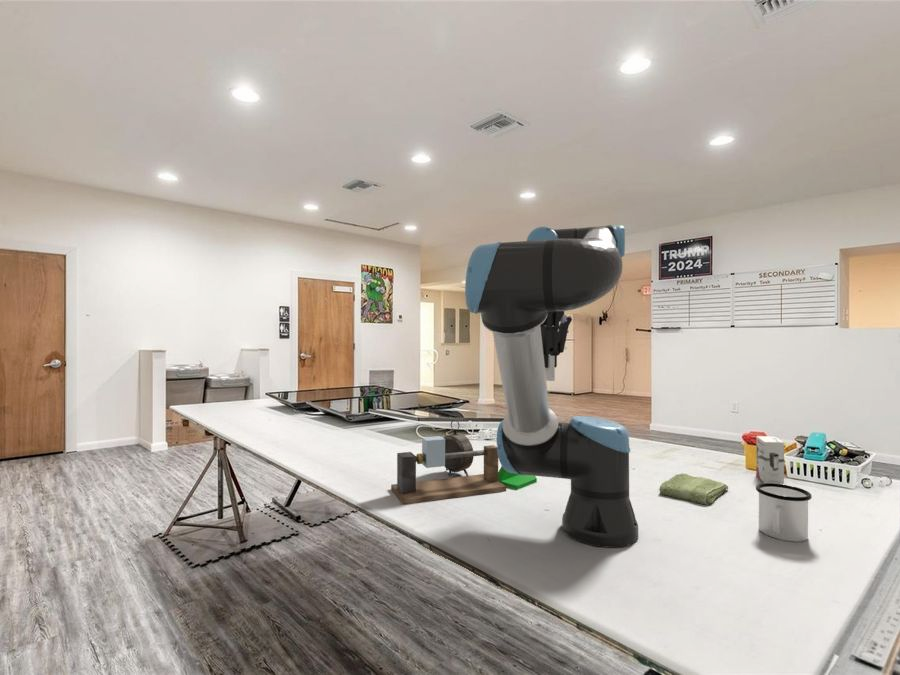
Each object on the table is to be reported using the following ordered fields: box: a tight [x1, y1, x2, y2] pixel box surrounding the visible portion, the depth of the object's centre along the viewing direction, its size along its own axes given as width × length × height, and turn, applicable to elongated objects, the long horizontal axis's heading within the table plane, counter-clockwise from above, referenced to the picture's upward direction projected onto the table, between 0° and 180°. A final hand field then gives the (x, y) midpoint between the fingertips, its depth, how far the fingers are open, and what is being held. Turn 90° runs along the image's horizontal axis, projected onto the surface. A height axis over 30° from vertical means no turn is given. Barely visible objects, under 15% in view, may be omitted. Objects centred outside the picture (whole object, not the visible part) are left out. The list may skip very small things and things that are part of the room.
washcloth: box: [658, 473, 729, 505], centre depth 124 cm, size 13×18×3 cm
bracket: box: [498, 465, 538, 490], centre depth 132 cm, size 12×8×7 cm, turn 136°
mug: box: [755, 482, 812, 543], centre depth 96 cm, size 12×10×9 cm
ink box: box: [755, 435, 785, 485], centre depth 134 cm, size 9×5×12 cm, turn 161°
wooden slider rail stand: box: [390, 444, 507, 505], centre depth 124 cm, size 28×12×10 cm, turn 111°
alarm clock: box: [442, 419, 475, 477], centre depth 138 cm, size 11×5×16 cm, turn 45°
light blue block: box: [421, 435, 445, 469], centre depth 123 cm, size 5×4×7 cm
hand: (549, 380), depth 123 cm, fingers closed
